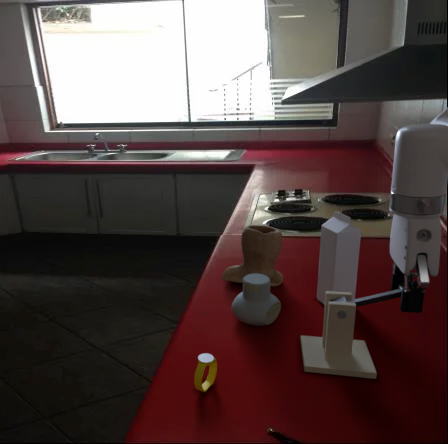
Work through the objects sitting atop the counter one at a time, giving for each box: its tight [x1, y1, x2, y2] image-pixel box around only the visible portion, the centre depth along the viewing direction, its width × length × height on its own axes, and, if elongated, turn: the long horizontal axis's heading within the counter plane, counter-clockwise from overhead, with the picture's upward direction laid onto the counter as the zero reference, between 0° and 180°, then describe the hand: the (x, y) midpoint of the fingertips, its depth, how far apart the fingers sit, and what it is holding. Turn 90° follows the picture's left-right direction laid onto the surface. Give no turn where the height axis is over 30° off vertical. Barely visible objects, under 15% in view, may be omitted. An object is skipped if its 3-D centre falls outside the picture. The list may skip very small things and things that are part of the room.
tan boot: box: [221, 224, 284, 287], centre depth 110 cm, size 15×12×15 cm
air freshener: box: [231, 274, 282, 327], centre depth 92 cm, size 11×8×10 cm
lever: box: [329, 282, 405, 308], centre depth 74 cm, size 13×5×2 cm, turn 78°
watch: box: [193, 352, 218, 393], centre depth 73 cm, size 6×3×6 cm, turn 146°
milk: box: [316, 210, 362, 306], centre depth 95 cm, size 6×6×22 cm
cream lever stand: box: [299, 291, 378, 380], centre depth 77 cm, size 12×10×13 cm
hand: (405, 302), depth 73 cm, fingers closed on lever, 5 cm apart
